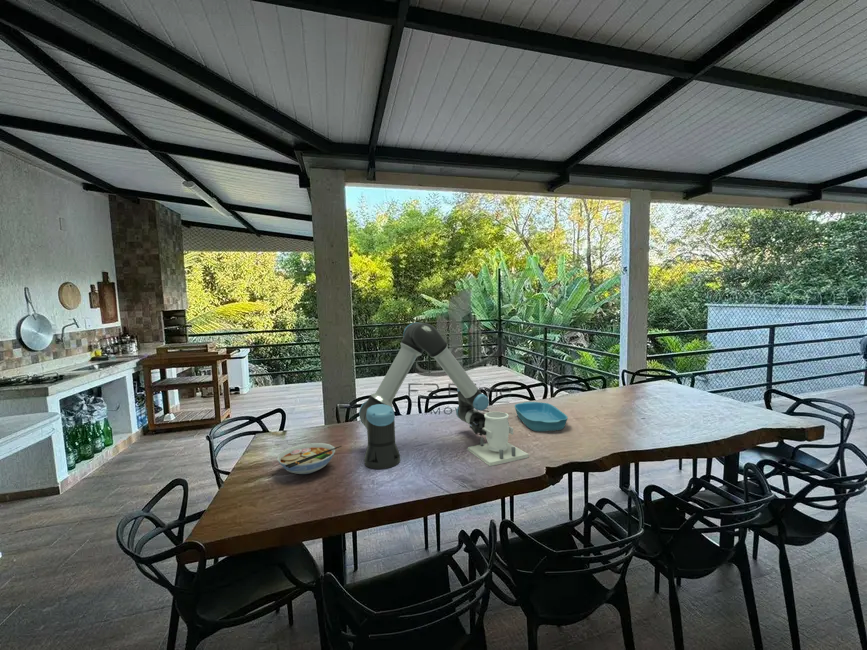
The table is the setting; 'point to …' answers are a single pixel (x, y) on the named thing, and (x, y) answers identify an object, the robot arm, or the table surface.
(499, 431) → the jar
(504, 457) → the tray
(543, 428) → the casserole dish
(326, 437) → the table surface
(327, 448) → the ramen bowl
